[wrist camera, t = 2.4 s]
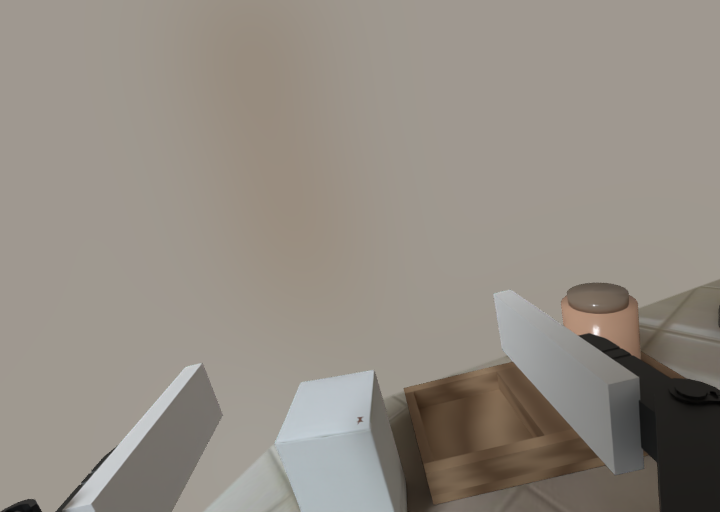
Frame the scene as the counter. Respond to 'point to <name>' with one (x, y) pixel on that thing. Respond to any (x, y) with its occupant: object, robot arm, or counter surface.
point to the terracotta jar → (603, 314)
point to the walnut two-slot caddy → (494, 432)
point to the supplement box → (342, 447)
